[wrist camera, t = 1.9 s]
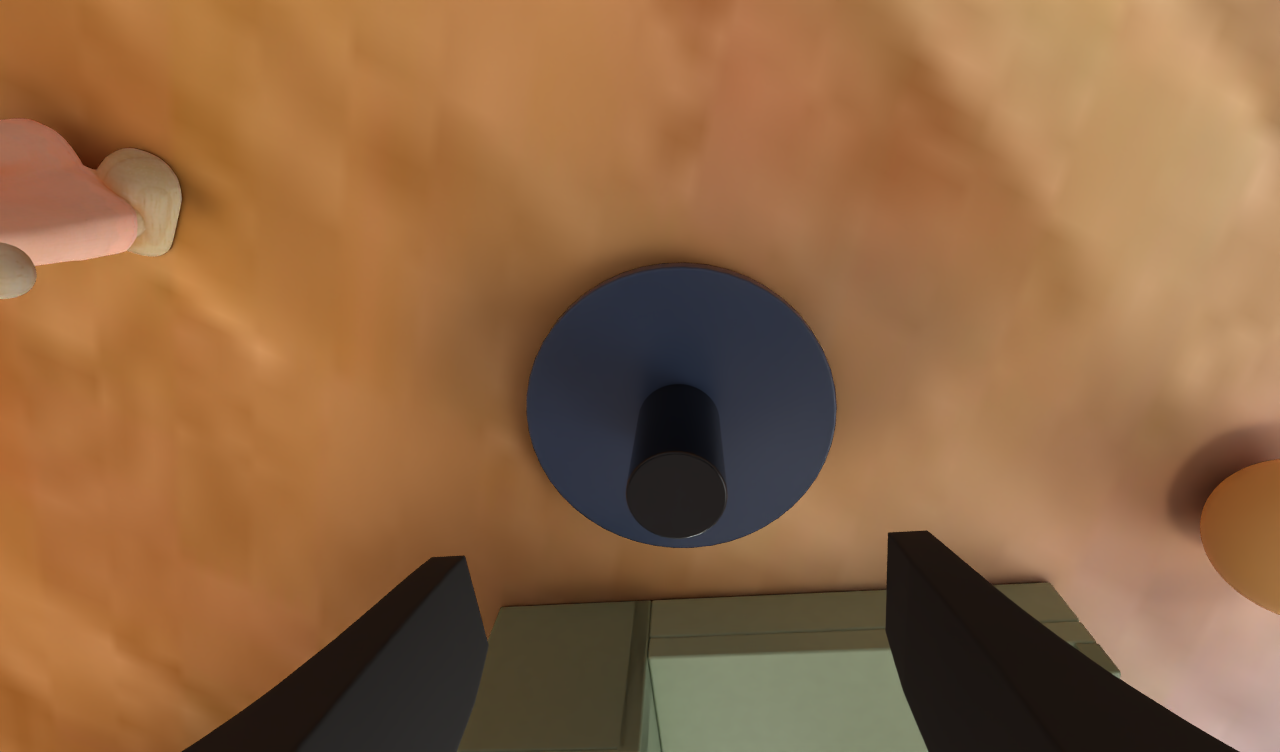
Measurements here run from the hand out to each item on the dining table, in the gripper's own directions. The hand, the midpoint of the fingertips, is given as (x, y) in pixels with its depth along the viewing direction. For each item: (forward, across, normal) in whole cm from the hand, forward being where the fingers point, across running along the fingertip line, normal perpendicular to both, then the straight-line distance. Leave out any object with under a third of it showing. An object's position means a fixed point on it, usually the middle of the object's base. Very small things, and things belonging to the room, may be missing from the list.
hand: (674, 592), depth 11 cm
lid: (+7, 0, 0) cm, 7 cm away
